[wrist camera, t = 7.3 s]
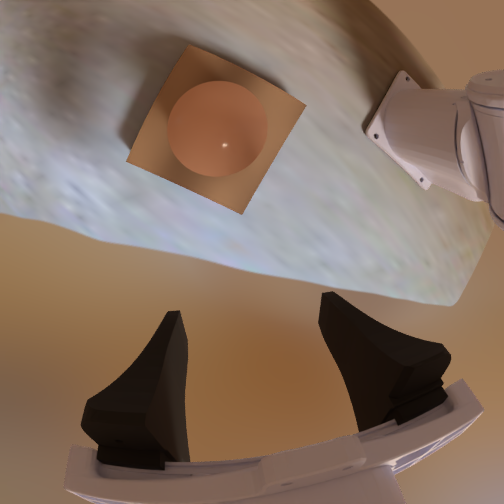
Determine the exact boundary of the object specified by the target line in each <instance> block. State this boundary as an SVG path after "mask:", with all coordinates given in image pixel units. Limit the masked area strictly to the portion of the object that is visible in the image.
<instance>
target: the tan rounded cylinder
mask: <svg viewBox="0 0 504 504" xmlns="http://www.w3.org/2000/svg"><path fill="white" fill-rule="evenodd" d="M267 132H268V123H267V117H266V113H265V111H264V108H263V106H262V104H261V103H260V101H259V100H258V99H257V98H256V96H255V95H254V94H252V93H251V92H250V91H249V90H247V89H246V88H244V87H242V86H240V85H238V84H235V83H232V82H227V81H211V82H206V83H202V84H200V85H197V86H195V87H193V88H192V89H190V90H188V91H187V92H186V93H185V94H183V95H182V96H181V97H180V98H179V100H178V101H177V102H176V104H175V105H174V107H173V109H172V111H171V113H170V116H169V120H168V125H167V136H168V141H169V144H170V147H171V149H172V151H173V153H174V155H175V156H176V158H177V159H178V160H179V161H180V162H181V163H182V164H183V165H184V166H185V167H187V168H188V169H190V170H191V171H193V172H195V173H198V174H201V175H205V176H211V177H221V176H227V175H231V174H234V173H237V172H239V171H241V170H243V169H244V168H246V167H247V166H249V165H250V164H251V163H252V162H253V161H254V160H255V159H256V158H257V157H258V155H259V154H260V152H261V151H262V149H263V147H264V144H265V142H266V138H267Z"/></svg>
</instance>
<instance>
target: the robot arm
mask: <svg viewBox="0 0 504 504" xmlns="http://www.w3.org/2000/svg"><path fill="white" fill-rule="evenodd" d="M406 78H407V81H406ZM374 134H376V138H374ZM366 136H367V137H368V138H369V139H370V140H372V141H373V142H374V143H375V144H376V145H377V146H379V147H380V148H381V149H382V150H383V151H384V152H385V153H387V154H388V155H389V156H390V157H391V158H392V159H393V160H394V161H395V162H396V163H397V164H398V165H400V166H401V167H402V168H403V169H404V170H405V171H406V172H407V173H408V174H409V175H410V176H411V177H412V178H413V179H414V180H415V181H416V182H417V183H418V184H419V185H420V186H421V187H422V188H423V189H425V190H427V189H428V188H429V187H430V185H431V183H433V184H435V185H437V186H440V187H442V188H444V189H447V190H449V191H451V192H453V193H456V194H458V195H460V196H462V197H464V198H466V199H468V200H471V201H485V202H487V203H489V211H490V215H491V217H492V219H493V220H494V222H495V223H496V224H497V225H498V226H499V227H500V228H501V229H502V230H503V231H504V70H493V71H488V72H483V73H479V74H477V75H474V76H473V77H471V79H470V80H469V83H468V84H467V85H466V87H465V90H457V89H421V87H420V86H419V85H418V84H417V83H416V82H415V81H414V80H413V79H412V78H411V77H410V76H409V75H408V74H407V73H406V72H405V71H403V70H402V71H399V72H398V74H397V75H396V77H395V79H394V81H393V83H392V85H391V86H390V88H389V90H388V92H387V94H386V95H385V97H384V99H383V101H382V103H381V104H380V106H379V108H378V110H377V111H376V113H375V115H374V117H373V118H372V120H371V122H370V124H369V125H368V127H367V129H366ZM420 178H421V181H420ZM318 324H319V327H320V329H321V332H322V335H323V338H324V340H325V342H326V344H327V346H328V348H329V350H330V352H331V354H332V356H333V358H334V360H335V362H336V364H337V366H338V368H339V370H340V372H341V374H342V376H343V379H344V382H345V384H346V387H347V390H348V393H349V396H350V399H351V403H352V406H353V410H354V413H355V417H356V421H357V425H358V430H359V433H357V434H353V435H348V436H343V437H339V438H336V439H332V440H328V441H325V442H321V443H317V444H313V445H309V446H306V447H301V448H297V449H291V450H286V451H282V452H278V453H274V454H271V455H267V456H261V457H254V458H245V459H236V460H226V461H210V462H190V456H189V448H188V440H187V430H186V416H185V386H186V375H187V363H188V340H187V336H186V332H185V329H184V325H183V321H182V317H181V314H180V311H168V312H167V313H166V315H165V317H164V319H163V320H162V322H161V324H160V325H159V327H158V329H157V330H156V332H155V334H154V335H153V337H152V338H151V340H150V341H149V343H148V344H147V346H146V347H145V348H144V350H143V351H142V353H141V354H140V355H139V356H138V358H137V359H136V360H135V361H134V362H133V364H132V365H131V366H130V367H129V368H128V369H127V370H126V371H125V372H124V373H123V374H122V375H121V376H120V377H119V378H117V379H116V380H115V381H114V382H113V383H111V384H110V385H109V386H108V387H106V388H105V389H104V390H102V391H101V392H99V393H98V394H96V395H95V396H93V397H91V398H90V399H88V400H87V403H86V406H85V409H84V413H83V417H82V421H81V427H82V429H83V430H84V432H85V433H86V434H87V435H88V436H89V437H90V438H91V439H93V440H94V441H95V442H96V443H97V444H98V445H99V446H98V451H97V450H95V449H93V448H89V447H83V446H78V445H74V444H72V445H71V446H70V452H69V456H68V462H67V468H66V475H65V481H64V489H65V490H67V491H69V492H71V493H73V494H75V495H77V496H79V497H81V498H84V499H85V500H88V501H90V502H92V503H95V504H406V502H405V499H404V497H403V495H402V492H401V490H400V487H399V485H398V483H397V480H396V478H395V476H394V475H395V474H397V473H399V472H401V471H403V470H405V469H406V468H408V467H410V466H412V465H414V464H415V463H417V462H419V461H421V460H422V459H424V458H425V457H427V456H428V455H430V454H432V453H433V452H435V451H436V450H438V449H440V448H441V447H443V446H444V445H446V444H447V443H449V442H450V441H452V440H453V439H455V438H456V437H457V436H459V435H460V434H462V433H463V432H464V431H465V430H466V429H467V428H468V427H469V426H470V425H471V424H472V423H473V422H474V421H475V420H476V419H477V418H478V417H479V416H480V415H481V414H482V413H483V412H484V408H483V407H482V405H481V404H480V402H479V401H478V399H477V398H476V396H475V395H474V394H473V392H472V391H471V390H470V388H469V387H468V385H467V384H466V382H465V381H464V380H463V379H460V380H458V381H457V382H455V383H453V384H451V385H450V386H449V387H447V388H446V389H445V390H444V389H443V388H442V385H443V381H442V380H441V377H442V375H443V374H444V372H445V370H446V369H447V367H448V366H449V364H450V361H451V354H450V353H449V352H448V351H447V349H446V348H445V347H444V346H443V344H440V343H436V342H430V341H425V340H422V339H418V338H415V337H412V336H409V335H406V334H403V333H401V332H398V331H396V330H394V329H391V328H389V327H387V326H385V325H383V324H381V323H379V322H378V321H376V320H374V319H373V318H371V317H369V316H368V315H366V314H365V313H363V312H362V311H360V310H359V309H357V308H356V307H354V306H353V305H351V304H350V303H349V302H347V301H346V300H344V299H343V298H342V297H340V296H339V295H338V294H336V293H335V292H333V291H332V292H326V293H322V297H321V306H320V313H319V321H318Z"/></svg>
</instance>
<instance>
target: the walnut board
mask: <svg viewBox="0 0 504 504" xmlns="http://www.w3.org/2000/svg"><path fill="white" fill-rule="evenodd" d="M211 81H227V82H232V83H235V84H238V85H240V86H242V87H244V88H246V89H247V90H249V91H250V92H251V93H252V94H254V95H255V96H256V98H257V99H258V100H259V101H260V103H261V104H262V106H263V108H264V111H265V113H266V117H267V123H268V132H267V138H266V142H265V144H264V147H263V149H262V151H261V152H260V154H259V155H258V157H257V158H256V159H255V160H254V161H253V162H252V163H251V164H250V165H249V166H247V167H246V168H244V169H243V170H241V171H239V172H237V173H234V174H231V175H227V176H221V177H211V176H205V175H201V174H198V173H195V172H193V171H191V170H190V169H188V168H187V167H185V166H184V165H183V164H182V163H181V162H180V161H179V160H178V159H177V158H176V156H175V155H174V153H173V151H172V149H171V147H170V144H169V141H168V136H167V125H168V120H169V116H170V113H171V111H172V109H173V107H174V105H175V104H176V102H177V101H178V100H179V98H180V97H181V96H182V95H183V94H185V93H186V92H187V91H188V90H190V89H192V88H193V87H195V86H197V85H200V84H202V83H206V82H211ZM306 106H307V105H305V104H304V103H302V102H301V101H299V100H297V99H296V98H294V97H293V96H291V95H289V94H288V93H286V92H284V91H283V90H281V89H279V88H278V87H276V86H274V85H272V84H271V83H269V82H267V81H265V80H264V79H262V78H260V77H258V76H256V75H254V74H252V73H251V72H249V71H247V70H245V69H243V68H241V67H239V66H237V65H235V64H233V63H231V62H229V61H226V60H224V59H222V58H220V57H218V56H216V55H213V54H211V53H209V52H207V51H204V50H202V49H199V48H197V47H195V46H192V45H190V44H189V45H188V46H187V48H186V49H185V51H184V52H183V54H182V55H181V57H180V58H179V60H178V62H177V63H176V65H175V66H174V68H173V70H172V71H171V73H170V75H169V76H168V78H167V80H166V81H165V83H164V85H163V87H162V88H161V90H160V92H159V94H158V96H157V98H156V99H155V101H154V103H153V105H152V107H151V109H150V111H149V113H148V115H147V117H146V119H145V121H144V123H143V125H142V127H141V129H140V131H139V133H138V136H137V138H136V140H135V142H134V144H133V147H132V149H131V151H130V154H129V156H128V158H127V161H126V162H128V163H131V164H133V165H135V166H138V167H140V168H142V169H144V170H147V171H149V172H151V173H153V174H156V175H158V176H160V177H162V178H164V179H167V180H169V181H171V182H173V183H175V184H178V185H180V186H182V187H184V188H186V189H189V190H191V191H193V192H195V193H197V194H199V195H201V196H204V197H206V198H208V199H210V200H212V201H214V202H216V203H218V204H221V205H223V206H225V207H227V208H229V209H231V210H233V211H235V212H237V213H239V214H241V215H242V214H243V212H244V210H245V209H246V207H247V205H248V203H249V202H250V200H251V198H252V196H253V195H254V193H255V191H256V189H257V188H258V186H259V184H260V183H261V181H262V179H263V177H264V176H265V174H266V172H267V171H268V169H269V167H270V165H271V164H272V162H273V160H274V159H275V157H276V155H277V154H278V152H279V150H280V148H281V147H282V145H283V143H284V142H285V140H286V138H287V137H288V135H289V133H290V132H291V130H292V128H293V127H294V125H295V124H296V122H297V120H298V119H299V117H300V115H301V114H302V112H303V110H304V109H305V107H306Z"/></svg>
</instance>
